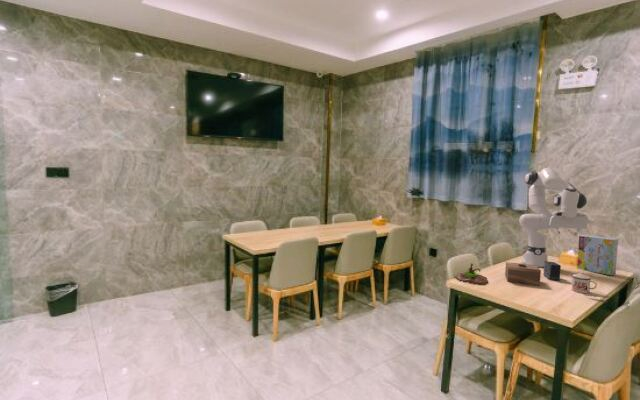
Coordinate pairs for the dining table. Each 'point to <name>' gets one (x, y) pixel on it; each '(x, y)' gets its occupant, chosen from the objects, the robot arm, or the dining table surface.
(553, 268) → the small box
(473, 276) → the plant
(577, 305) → the dining table surface
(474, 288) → the dining table surface
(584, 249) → the snack box
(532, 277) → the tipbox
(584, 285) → the teacup with lid
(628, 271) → the dining table surface
